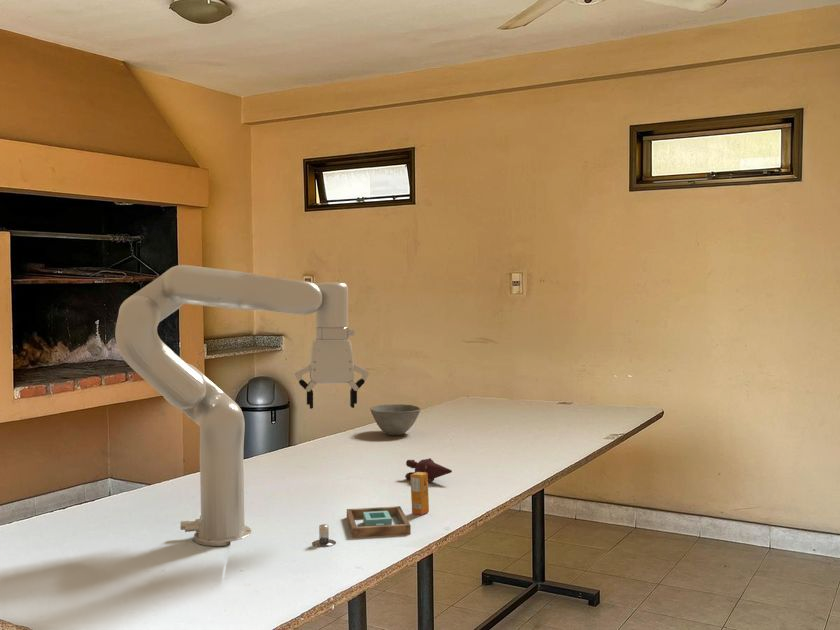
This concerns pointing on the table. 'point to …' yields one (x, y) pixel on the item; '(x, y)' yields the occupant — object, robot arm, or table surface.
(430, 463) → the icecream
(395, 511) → the tray
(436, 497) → the table surface
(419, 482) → the supplement box
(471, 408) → the table surface
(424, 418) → the table surface
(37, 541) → the table surface
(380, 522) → the teal tabbed square frame
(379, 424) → the bowl
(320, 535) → the grey metallic peg stand
